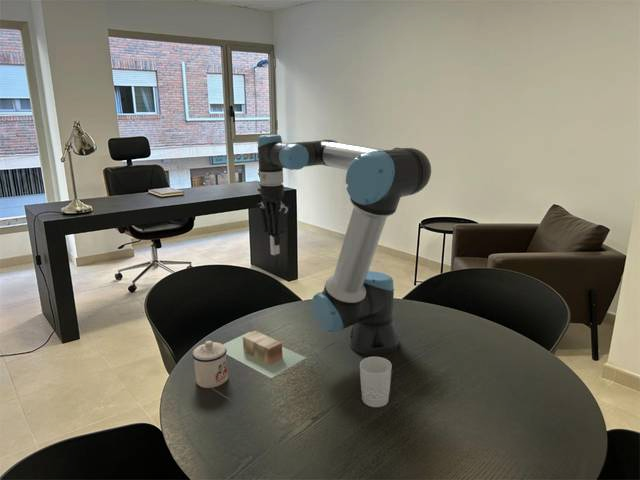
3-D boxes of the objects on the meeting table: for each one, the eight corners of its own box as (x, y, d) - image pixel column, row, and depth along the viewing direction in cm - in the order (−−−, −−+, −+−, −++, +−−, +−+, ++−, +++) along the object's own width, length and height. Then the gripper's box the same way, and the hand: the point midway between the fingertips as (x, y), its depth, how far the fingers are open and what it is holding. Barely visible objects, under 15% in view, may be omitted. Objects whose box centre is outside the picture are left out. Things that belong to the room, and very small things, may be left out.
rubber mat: (306, 358, 137) (306, 357, 137) (271, 379, 127) (271, 378, 127) (249, 332, 154) (249, 331, 154) (214, 349, 144) (214, 348, 144)
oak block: (256, 345, 145) (282, 357, 137) (243, 351, 141) (270, 364, 134) (255, 330, 144) (281, 342, 136) (242, 336, 140) (269, 349, 132)
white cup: (370, 413, 112) (371, 376, 109) (353, 395, 119) (353, 361, 116) (397, 403, 116) (398, 367, 113) (379, 387, 122) (379, 353, 120)
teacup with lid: (222, 390, 123) (218, 351, 119) (190, 388, 124) (185, 349, 121) (237, 366, 134) (234, 329, 131) (207, 364, 136) (203, 328, 132)
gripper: (249, 183, 150) (253, 252, 157) (277, 187, 142) (281, 260, 148) (266, 180, 155) (269, 247, 162) (294, 184, 147) (297, 254, 154)
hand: (275, 253), depth 155 cm, fingers closed
